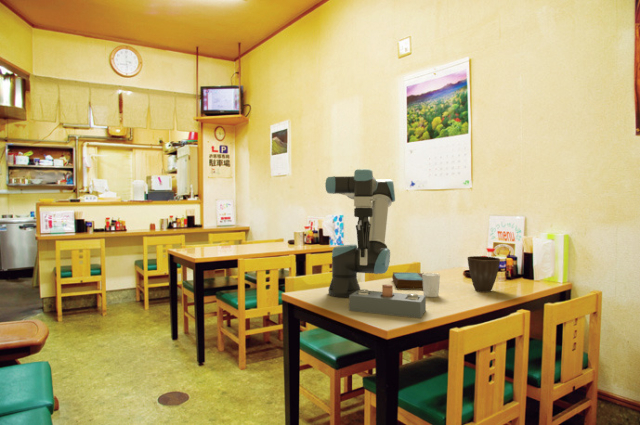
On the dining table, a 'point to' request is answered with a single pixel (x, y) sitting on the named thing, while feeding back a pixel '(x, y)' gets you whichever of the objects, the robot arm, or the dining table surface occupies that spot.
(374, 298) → the grey socket block
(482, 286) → the plant pot
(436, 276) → the white cup
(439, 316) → the dining table surface
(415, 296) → the silver knob
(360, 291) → the silver knob
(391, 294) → the terracotta knob middle
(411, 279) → the book
